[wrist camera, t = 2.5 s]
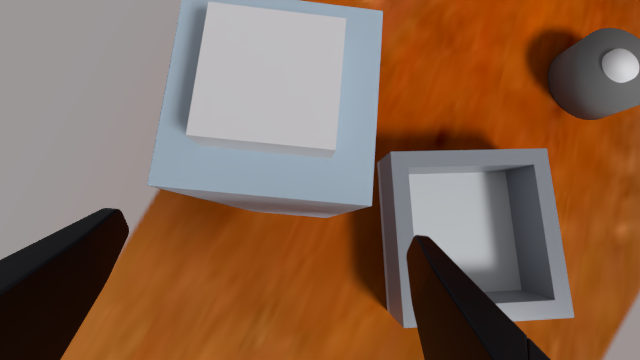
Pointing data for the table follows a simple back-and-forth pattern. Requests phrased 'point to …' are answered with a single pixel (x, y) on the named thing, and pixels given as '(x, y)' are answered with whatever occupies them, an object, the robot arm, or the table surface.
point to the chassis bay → (477, 226)
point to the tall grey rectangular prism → (271, 106)
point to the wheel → (597, 75)
